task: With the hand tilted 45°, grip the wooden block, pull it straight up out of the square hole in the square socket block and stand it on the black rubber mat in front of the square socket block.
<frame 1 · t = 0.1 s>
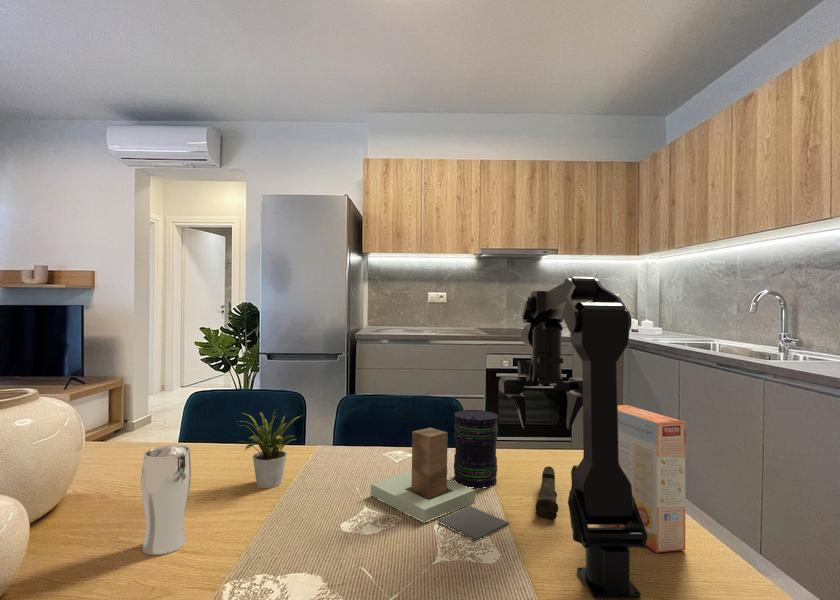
hand: (546, 428, 91), 15 cm above the table, tool pointing down, fingers open, 9 cm apart
storage jar: (475, 481, 101), on the table
hand tool: (545, 501, 92), on the table
wooden block: (429, 467, 89), in the square socket block
house plant: (262, 484, 97), on the table
rubber mat: (472, 523, 80), on the table
square socket block: (428, 502, 89), on the table
cracker box: (641, 533, 78), on the table
beer glass: (164, 546, 71), on the table
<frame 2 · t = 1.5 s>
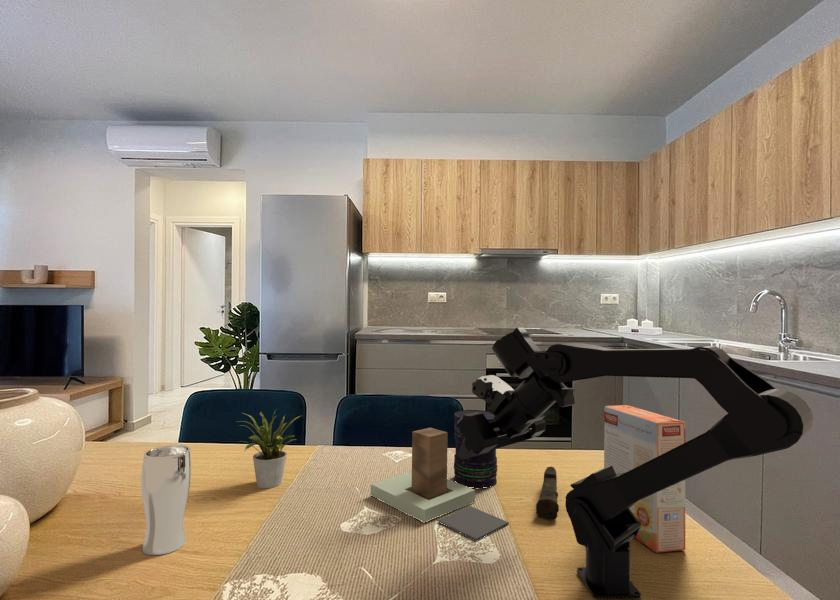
hand: (477, 451, 81), 13 cm above the table, tool tilted 45°, fingers open, 9 cm apart
nothing on the table moved.
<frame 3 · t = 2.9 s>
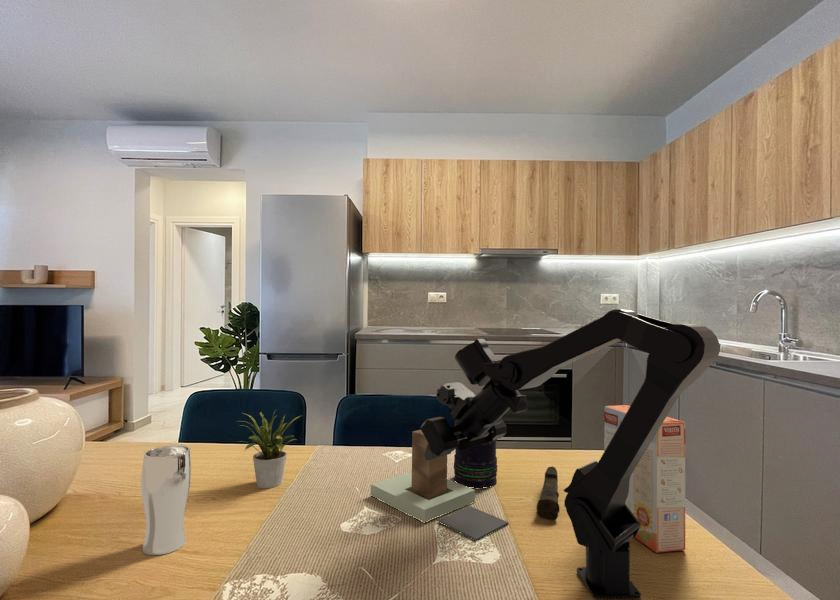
hand: (442, 453, 87), 11 cm above the table, tool tilted 45°, fingers open, 9 cm apart
nothing on the table moved.
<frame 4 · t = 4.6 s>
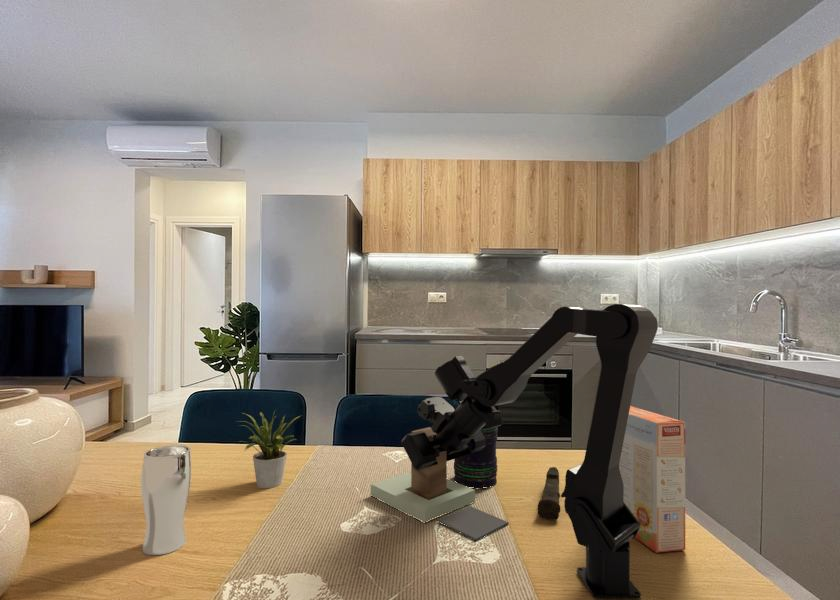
hand: (424, 465, 90), 7 cm above the table, tool tilted 45°, fingers closed on wooden block, 5 cm apart
wooden block: (428, 466, 89), in the square socket block, touching gripper
everything else where it was.
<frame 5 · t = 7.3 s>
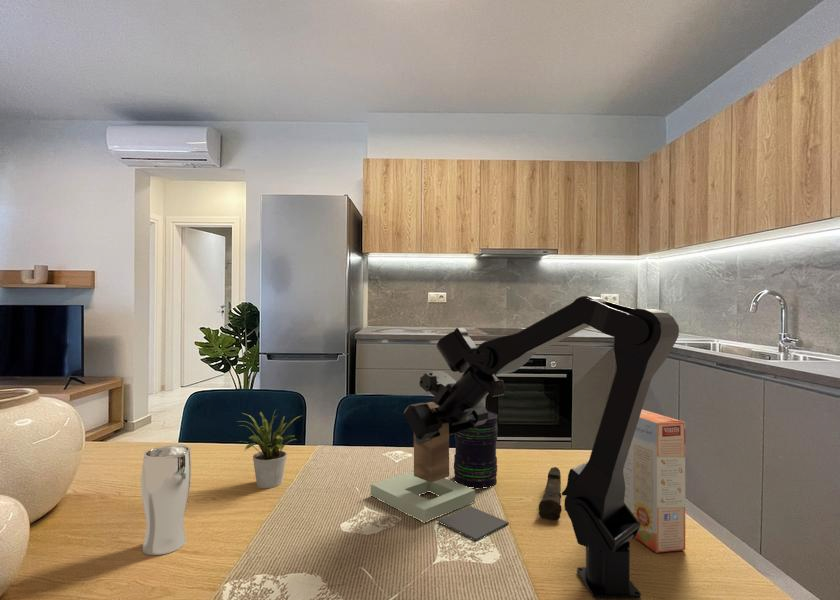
hand: (426, 439, 90), 12 cm above the table, tool tilted 45°, fingers closed on wooden block, 5 cm apart
wooden block: (431, 440, 89), point 12 cm above the table, touching gripper
everything else where it was.
when the fingers open (8 cm above the table, at t = 9.9 s): wooden block drops 1 cm, resting on rubber mat.
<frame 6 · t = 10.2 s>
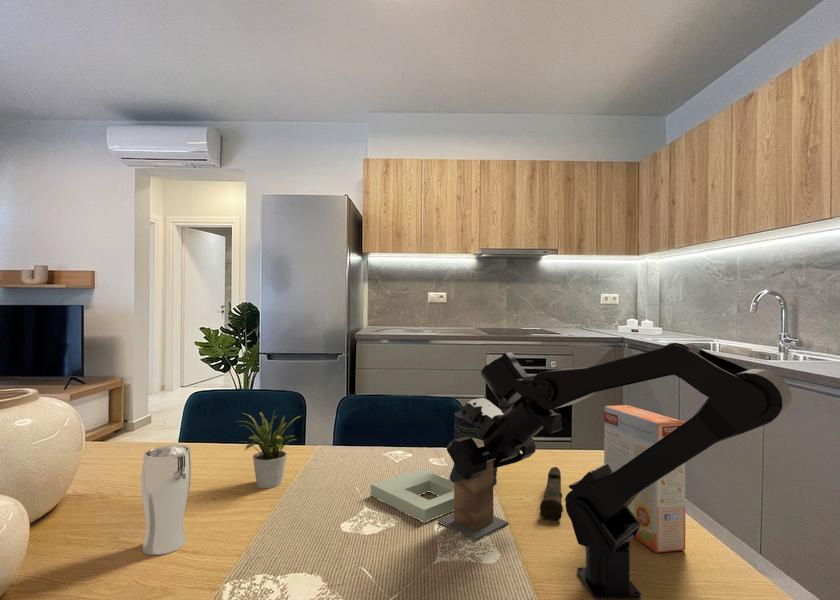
hand: (467, 473, 82), 8 cm above the table, tool tilted 45°, fingers open, 8 cm apart
wooden block: (473, 481, 81), on the rubber mat
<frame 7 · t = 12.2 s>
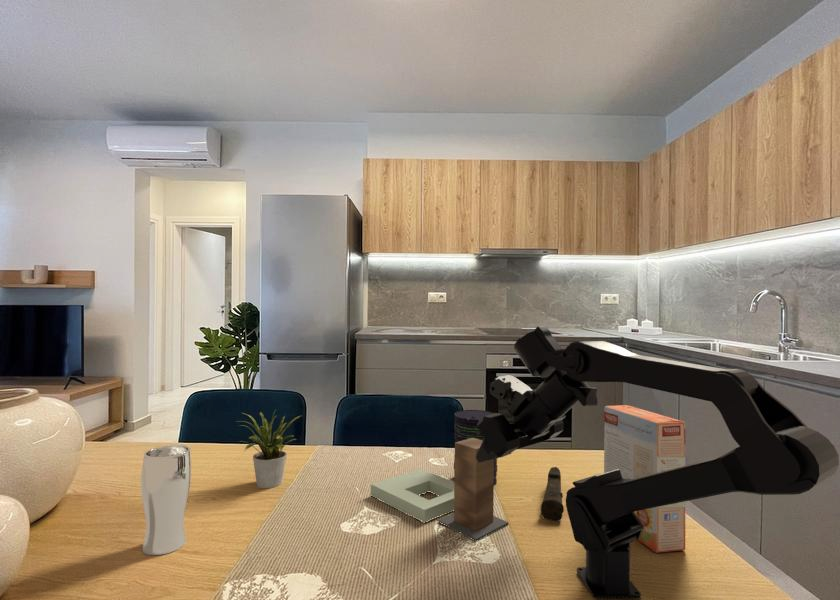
hand: (493, 453, 79), 13 cm above the table, tool tilted 45°, fingers open, 9 cm apart
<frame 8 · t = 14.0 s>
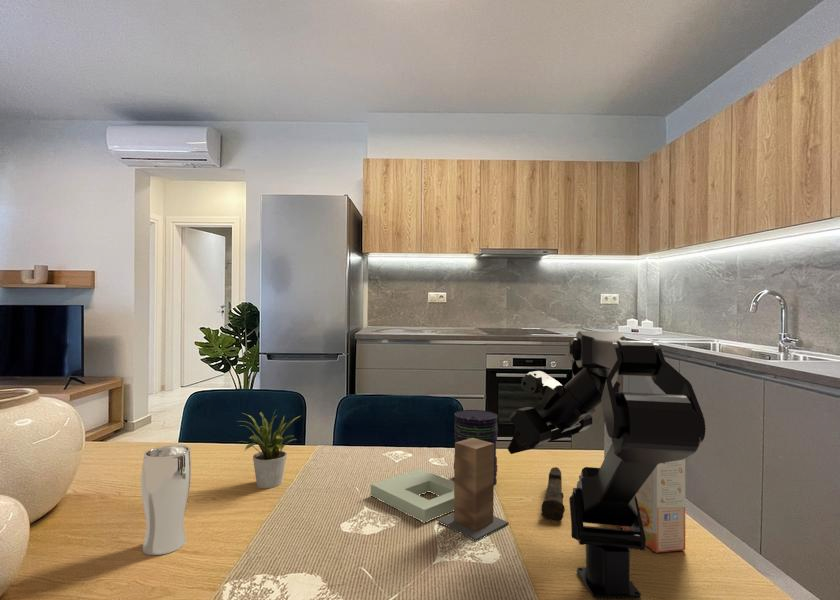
hand: (524, 446, 82), 14 cm above the table, tool tilted 45°, fingers open, 9 cm apart
at the end: wooden block 0.1 cm off-centre on the rubber mat, point 7.4 cm above the rubber mat's base; wooden block tilted 0°; the gripper is holding nothing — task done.
